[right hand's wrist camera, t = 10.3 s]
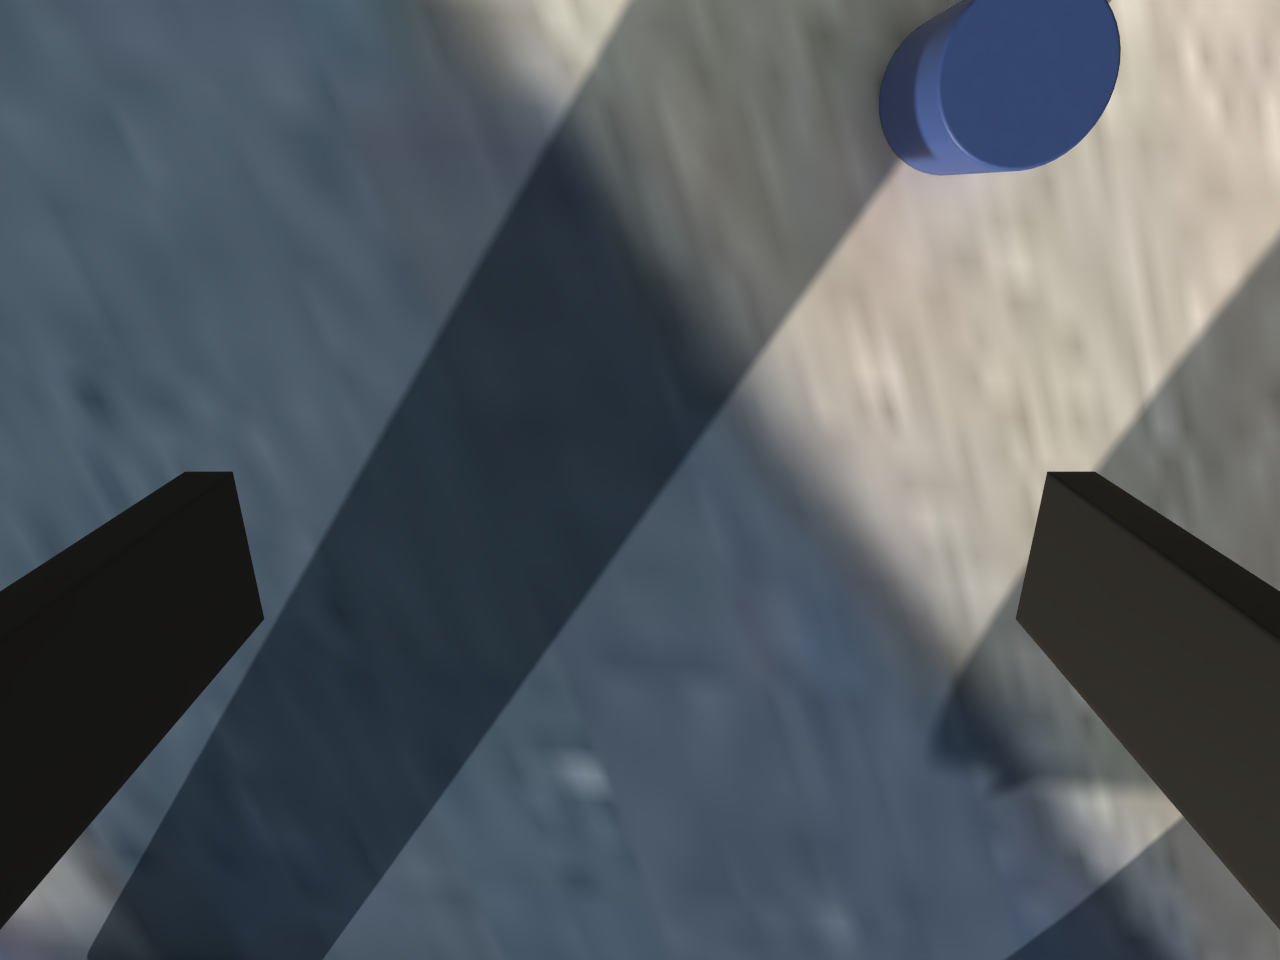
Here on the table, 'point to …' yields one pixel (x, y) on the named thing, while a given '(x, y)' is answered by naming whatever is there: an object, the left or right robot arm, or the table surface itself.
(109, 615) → the right robot arm
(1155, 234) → the table surface
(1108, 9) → the blue cylinder
